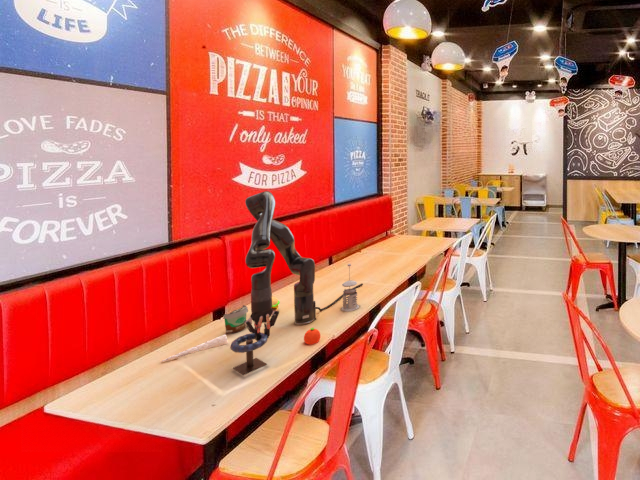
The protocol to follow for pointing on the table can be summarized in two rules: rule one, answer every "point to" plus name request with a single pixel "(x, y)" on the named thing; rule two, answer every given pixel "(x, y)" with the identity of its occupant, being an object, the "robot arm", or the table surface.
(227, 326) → the food container
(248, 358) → the peg stand
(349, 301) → the french press
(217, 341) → the unicorn horn
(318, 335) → the clementine
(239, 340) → the ring
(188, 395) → the table surface
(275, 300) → the hamburger
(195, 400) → the table surface
